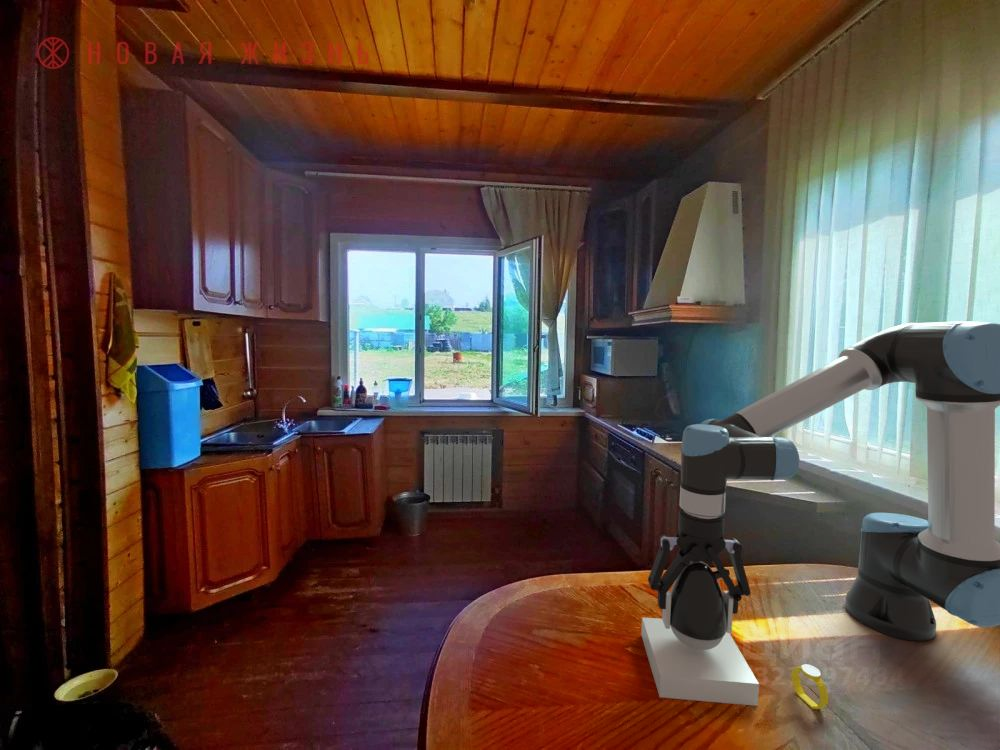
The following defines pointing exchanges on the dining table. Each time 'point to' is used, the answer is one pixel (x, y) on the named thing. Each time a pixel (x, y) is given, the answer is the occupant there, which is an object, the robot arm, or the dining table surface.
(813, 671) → the watch
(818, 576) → the dining table surface
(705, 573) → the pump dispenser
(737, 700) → the ceramic base
